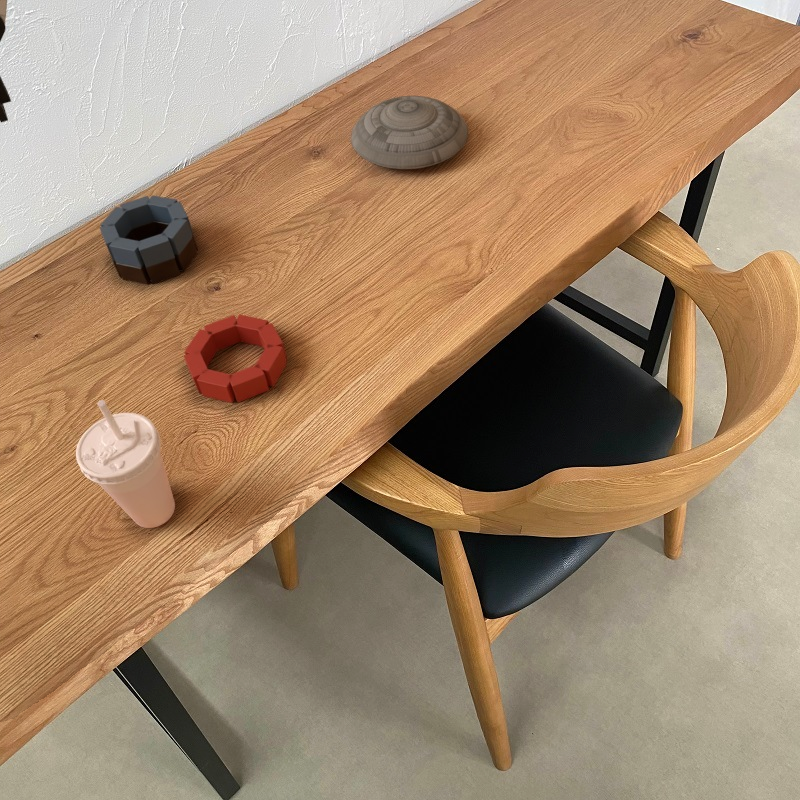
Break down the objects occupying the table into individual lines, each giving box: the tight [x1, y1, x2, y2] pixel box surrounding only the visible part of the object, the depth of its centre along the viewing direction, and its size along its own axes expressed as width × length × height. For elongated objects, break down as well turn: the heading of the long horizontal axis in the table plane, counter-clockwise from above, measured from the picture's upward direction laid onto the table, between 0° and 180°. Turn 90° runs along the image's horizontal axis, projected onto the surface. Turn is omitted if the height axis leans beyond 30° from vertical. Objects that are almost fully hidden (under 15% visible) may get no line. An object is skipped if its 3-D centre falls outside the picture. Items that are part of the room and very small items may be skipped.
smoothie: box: [75, 399, 176, 529], centre depth 64 cm, size 6×6×14 cm
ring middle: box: [99, 195, 194, 268], centre depth 88 cm, size 9×9×2 cm
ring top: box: [183, 314, 288, 404], centre depth 78 cm, size 9×9×2 cm
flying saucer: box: [350, 95, 469, 170], centre depth 100 cm, size 15×15×6 cm
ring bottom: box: [107, 221, 199, 285], centre depth 90 cm, size 9×9×2 cm
